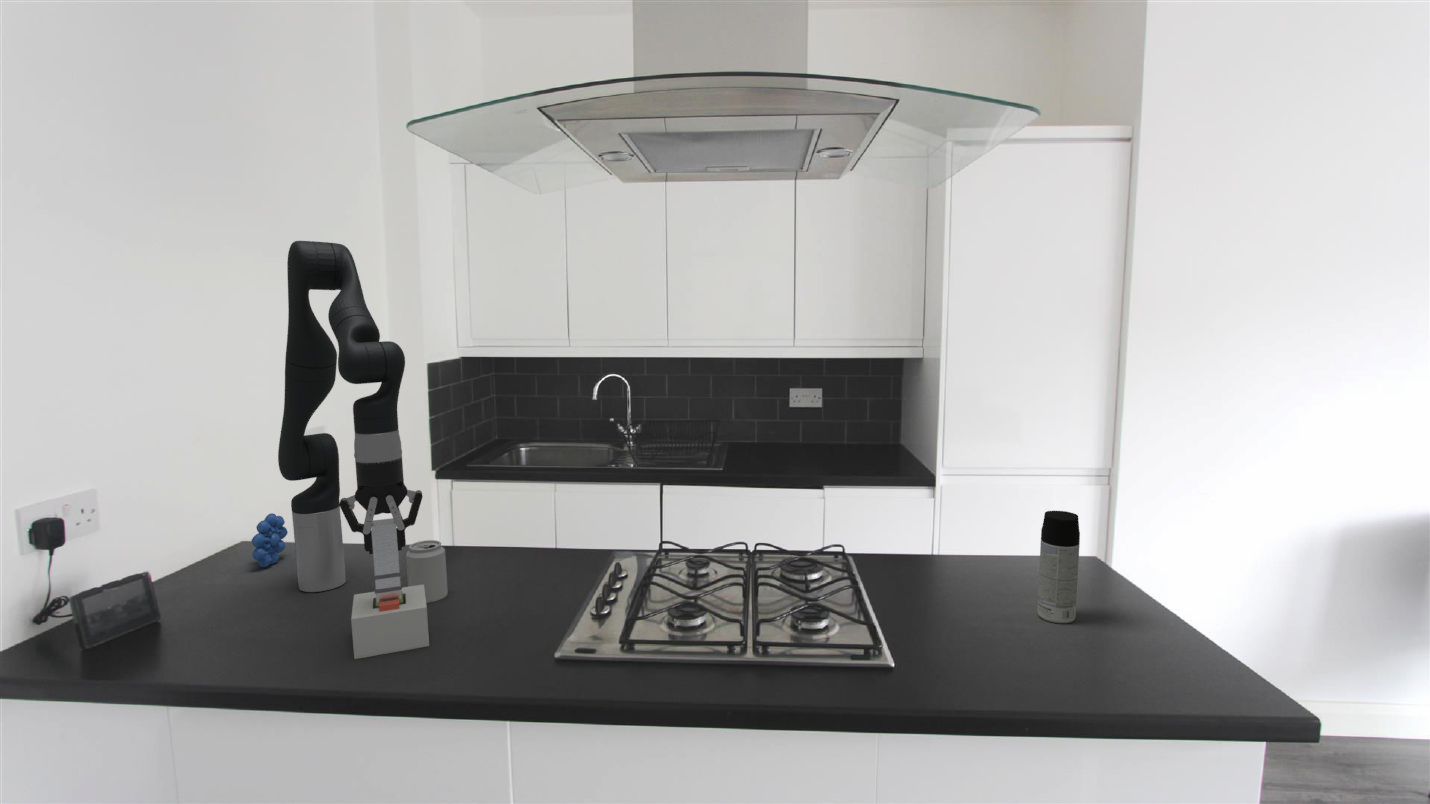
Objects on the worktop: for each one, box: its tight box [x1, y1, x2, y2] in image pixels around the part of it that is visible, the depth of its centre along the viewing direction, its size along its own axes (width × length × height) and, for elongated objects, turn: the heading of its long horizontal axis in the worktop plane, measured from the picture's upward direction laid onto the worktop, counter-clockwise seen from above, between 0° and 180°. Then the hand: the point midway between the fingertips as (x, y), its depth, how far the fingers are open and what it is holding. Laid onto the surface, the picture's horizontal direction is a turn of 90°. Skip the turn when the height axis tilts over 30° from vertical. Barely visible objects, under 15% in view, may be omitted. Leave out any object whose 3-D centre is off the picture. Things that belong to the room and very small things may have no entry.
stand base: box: [350, 585, 430, 660], centre depth 139 cm, size 14×14×9 cm
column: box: [371, 517, 403, 608], centre depth 137 cm, size 4×4×16 cm
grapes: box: [251, 513, 289, 568], centre depth 182 cm, size 12×7×12 cm, turn 177°
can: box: [405, 539, 449, 604], centre depth 158 cm, size 8×8×12 cm
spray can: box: [1037, 510, 1081, 624], centre depth 145 cm, size 7×7×20 cm
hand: (385, 550), depth 137 cm, fingers closed on column, 4 cm apart
